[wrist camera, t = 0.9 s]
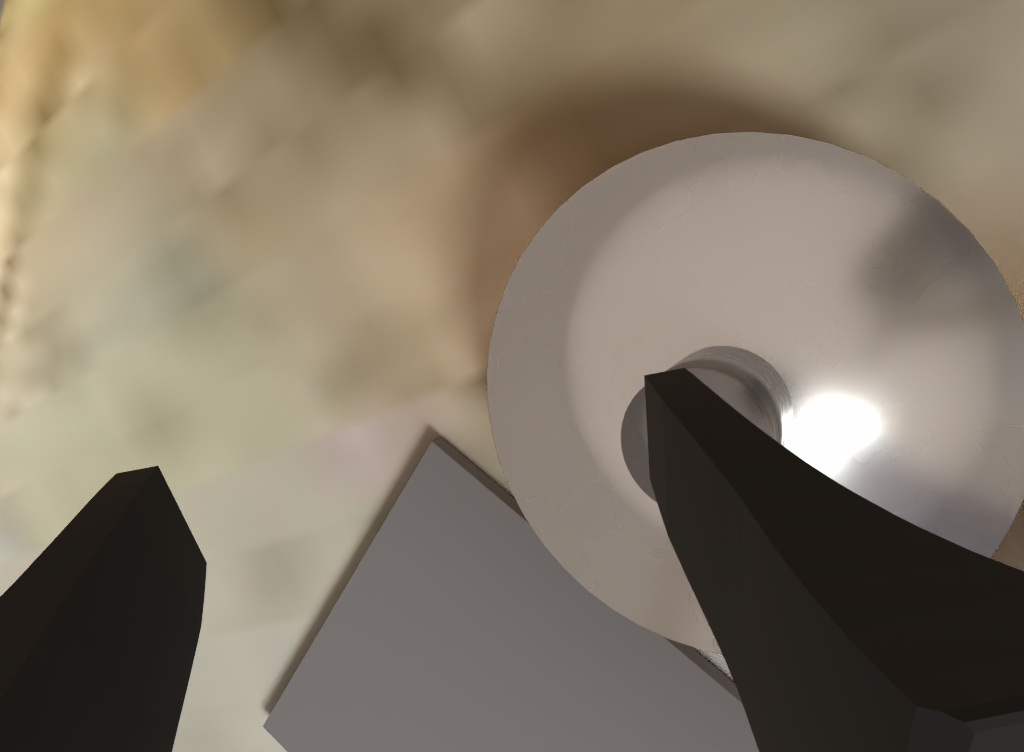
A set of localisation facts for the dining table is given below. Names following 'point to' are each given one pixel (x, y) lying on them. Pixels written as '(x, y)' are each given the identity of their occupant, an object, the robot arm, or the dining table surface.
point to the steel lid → (753, 351)
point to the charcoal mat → (491, 646)
